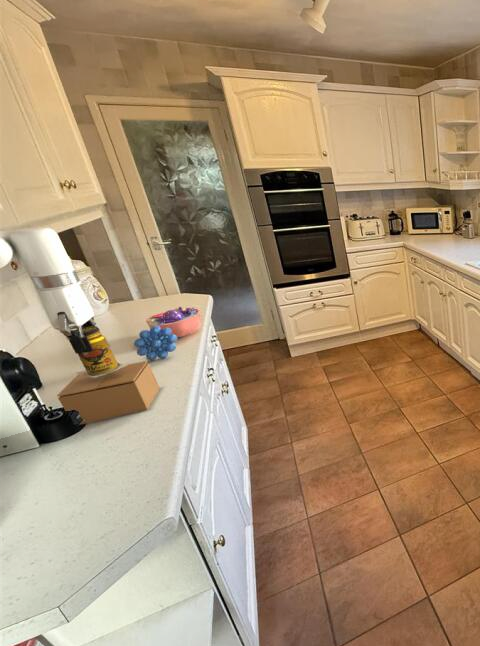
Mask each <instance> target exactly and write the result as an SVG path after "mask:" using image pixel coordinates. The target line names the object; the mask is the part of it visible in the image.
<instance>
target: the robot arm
mask: <svg viewBox="0 0 480 646" xmlns="http://www.w3.org/2000/svg"><path fill="white" fill-rule="evenodd" d="M14 261H15V262H16V261H21V263H22V266H23V267H24V269H25V271H26V272H27V274H28V276H29V279H30V280H31V281H32V284H33V286H34V288H35V289H36V291H38V294H39V297H40V300H41V303H42V306H43V308H44V311H45V313H46V315H47V318H48V320H49V322H50V324H51V326H52V328H53V329H54V330H57V331H59V333H61V334H62V335H63V336H65V338H66V340H67V341H69V343H70V345H71V347H72V349H73V351H74V353H75V354H77V355H78V354H79V353H85V352H91V351H92V350H93V348H92V346H91V344H90V342H89V340H88V338H87V336H84V334H83V330H82V328H84V327H91V326H95V327H98V325H97V323H96V322H95V318H94V316H95V312H94V310H93V307H92V305H91V303H90V301H89V300H88V298H87V296H86V294H85V293H84V290H83V288H82V287H81V285H80V284H82V282H81V280H80V278H79V276H78V273H77V271H76V270H75V268H74V266H73V264H72V261H71V259H70V257H69V256H68V253H67V251H66V248H65V247H64V245H63V242H62V241H61V239H60V237H59V235H58V233H57V232H56V231H55V230H54V229H53V228H50V227H28V228H20V229H14V230H0V269H2V268H4V267H5V266H7V265H8V264H9V263H11V262H14ZM70 325H71V326H70ZM74 330H77V332H76V331H74Z"/></svg>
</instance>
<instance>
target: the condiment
mask: <svg viewBox="0 0 480 646" xmlns="http://www.w3.org/2000/svg"><path fill="white" fill-rule="evenodd" d="M73 330H74V331H76V332H77V329H73ZM82 330H83V334H84V336H87V338H88V340H89V342H90V344H91V346H92V348H93V350H92V351H91V352H85V353H79V354H77V356H78V357H79V360H80V361H81V363H82V366H83V367H84V370H80V371H77V375H78V374H81V375H85V376H89V377H93V378H96V377H99V376H102V375H105V374H108V373H110V372H113V371H115V370H118V369H120V368H122V367H125V366H128V364H124V363H119V362H118V360H117V359H116V357H115V354H114V352H113V350H112V349H111V347H110V345H109V342H108V340H107V338H106V336H104V335H103V334H102V332H101V331H100V328H99V327H98V326H97V327H95V326H91V327H84V328H82Z"/></svg>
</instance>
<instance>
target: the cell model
mask: <svg viewBox="0 0 480 646" xmlns="http://www.w3.org/2000/svg"><path fill="white" fill-rule="evenodd" d="M145 323H146V324H147V325H148V327H149V329H150V328H151V327H153V326H159V327H160V328H161V330H162V329H163V328H170V329H171V331H172V333H171V334H170V335H172V334H174V335H176V336H177V339H179V338H183V337H187V336H189V335H191V334H193V333H195V332H196V331H197V330H198V329H199V328H200V327H201V326H202V317H201V310H200V309H198V308H194V307H184V308H183V307H181V306H178V307H177V308H174V309H169V310H166V311H164V312H160V313H157V314H154V315H151V316H149V317H148V318H146V319H145Z"/></svg>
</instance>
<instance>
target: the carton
mask: <svg viewBox="0 0 480 646" xmlns="http://www.w3.org/2000/svg"><path fill="white" fill-rule="evenodd" d="M127 365H128V366H125V367H122V368H120V369H118V370H115V371H113V372H110V373H109V374H108V375H107V376H106V377H105V378H104V380H103V381H102V382H101V383H100V384H99V385H98V387H97V389H94V390H89V391H84V392H79V393H74V394H69V395H64V396H58V397H57V398H58V401H59V403H60V404H61V406H62V408H63V409H64V411H65V412H66V411H71V410H76V411H78V412H79V415H80V417H81V418H83V419H84V420H85V421H82V422H81V423H80V424H79V425H78V426H80V425H85V424H88V423H89V424H90V423H93V422H98V421H102V420H106V419H112V418H115V417H120V416H125V415H128V414H134V413H138V412H143V411H146V410H147V411H148V409H149V407H150V406H151V404H152V402H153V401H154V399H155V397H156V396H157V394H158V392H159V391H160V386H159V383H158V381H157V379H156V377H155V376H156V375H155V374H154V372H153V370H152V368H151V366H150V363H148V360H143V361H139V362H133V363H129V364H127Z"/></svg>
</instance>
